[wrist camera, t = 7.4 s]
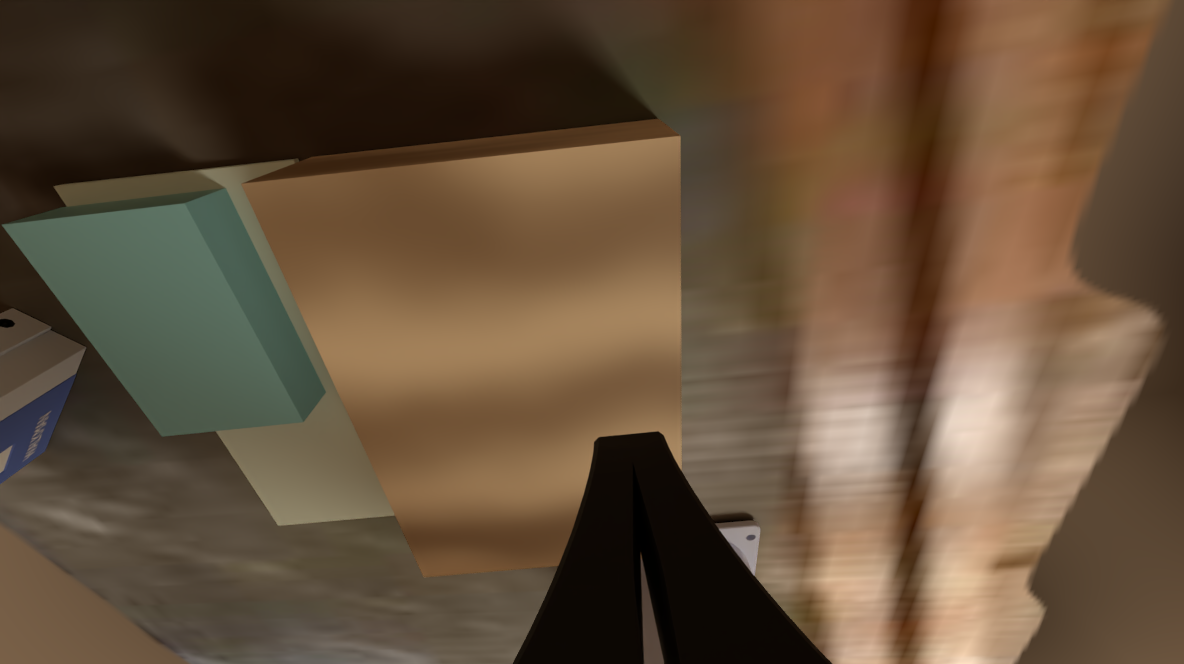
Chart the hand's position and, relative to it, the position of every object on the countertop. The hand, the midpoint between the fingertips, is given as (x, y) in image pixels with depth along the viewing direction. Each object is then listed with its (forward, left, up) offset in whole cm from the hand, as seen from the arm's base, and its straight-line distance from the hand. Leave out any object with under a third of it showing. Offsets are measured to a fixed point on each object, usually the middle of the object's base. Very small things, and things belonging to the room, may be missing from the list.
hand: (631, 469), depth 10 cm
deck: (-3, +4, -10) cm, 12 cm away
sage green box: (0, +16, -8) cm, 18 cm away
